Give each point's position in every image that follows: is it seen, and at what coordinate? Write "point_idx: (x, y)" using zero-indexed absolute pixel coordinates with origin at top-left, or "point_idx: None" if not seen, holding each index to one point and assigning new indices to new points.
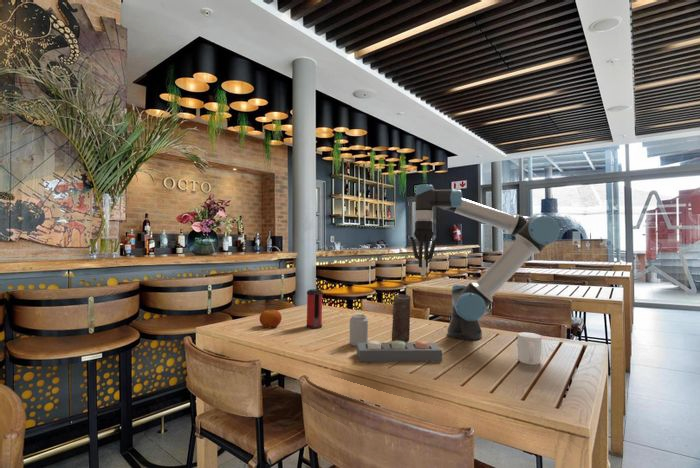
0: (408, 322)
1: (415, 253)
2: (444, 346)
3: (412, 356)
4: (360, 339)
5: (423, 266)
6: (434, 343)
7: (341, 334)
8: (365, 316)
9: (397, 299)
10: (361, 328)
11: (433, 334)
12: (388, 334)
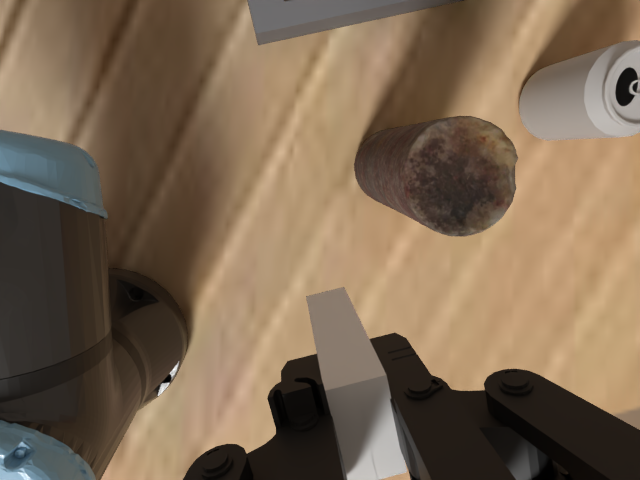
0: (376, 145)
1: (604, 425)
2: (209, 149)
3: None
4: (560, 62)
5: (346, 332)
6: (253, 15)
7: (613, 237)
8: (610, 86)
9: (490, 125)
10: (591, 52)
11: (247, 324)
12: (432, 280)
